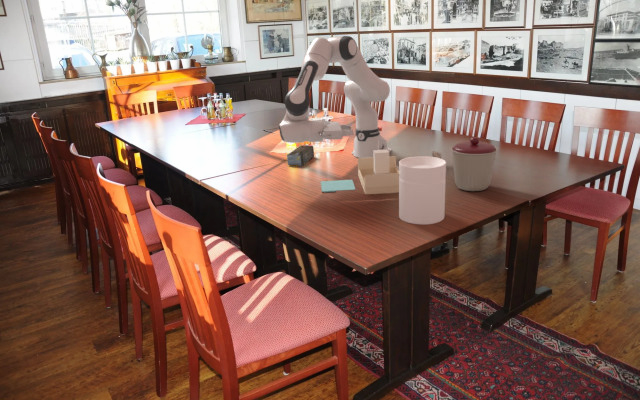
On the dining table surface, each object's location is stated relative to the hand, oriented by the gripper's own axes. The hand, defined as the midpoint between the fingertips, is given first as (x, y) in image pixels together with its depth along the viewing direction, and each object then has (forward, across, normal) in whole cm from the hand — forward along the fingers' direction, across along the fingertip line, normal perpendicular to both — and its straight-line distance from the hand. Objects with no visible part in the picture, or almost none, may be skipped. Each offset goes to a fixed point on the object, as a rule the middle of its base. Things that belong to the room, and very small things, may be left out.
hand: (352, 129), depth 215 cm
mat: (-6, 0, +24) cm, 25 cm away
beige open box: (+12, 0, +24) cm, 27 cm away
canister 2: (+48, -11, +24) cm, 55 cm away
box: (+12, 0, +24) cm, 27 cm away
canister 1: (+21, -39, +25) cm, 51 cm away
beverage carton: (-22, +46, +25) cm, 57 cm away
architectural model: (+41, +22, +24) cm, 53 cm away
